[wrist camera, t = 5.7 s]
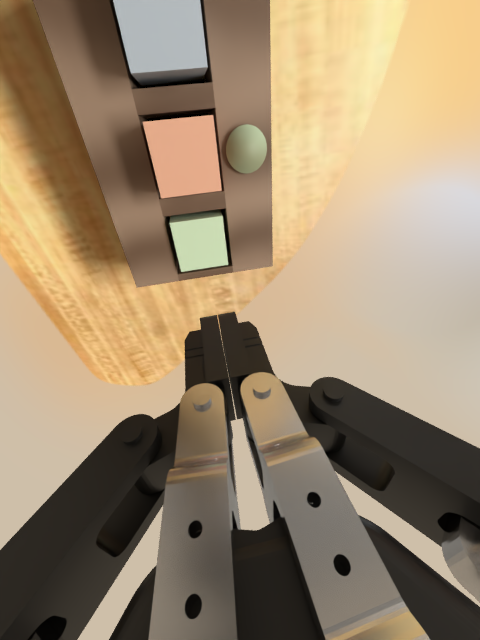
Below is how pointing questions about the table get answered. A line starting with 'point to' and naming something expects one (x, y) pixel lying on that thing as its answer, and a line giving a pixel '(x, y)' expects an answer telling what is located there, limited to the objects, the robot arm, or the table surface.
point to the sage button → (199, 239)
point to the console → (138, 104)
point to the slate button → (163, 40)
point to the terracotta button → (184, 155)
